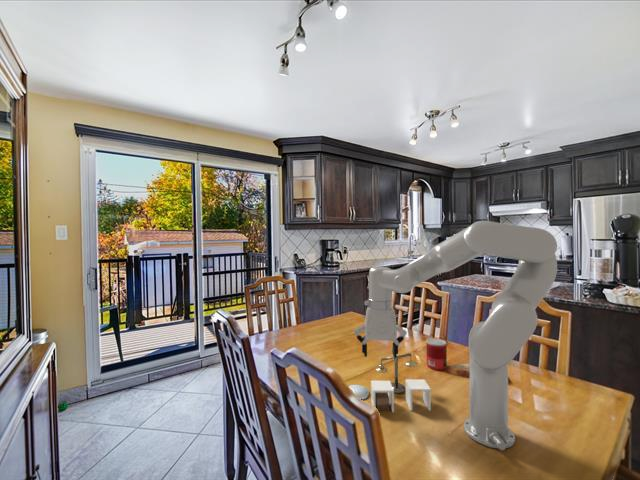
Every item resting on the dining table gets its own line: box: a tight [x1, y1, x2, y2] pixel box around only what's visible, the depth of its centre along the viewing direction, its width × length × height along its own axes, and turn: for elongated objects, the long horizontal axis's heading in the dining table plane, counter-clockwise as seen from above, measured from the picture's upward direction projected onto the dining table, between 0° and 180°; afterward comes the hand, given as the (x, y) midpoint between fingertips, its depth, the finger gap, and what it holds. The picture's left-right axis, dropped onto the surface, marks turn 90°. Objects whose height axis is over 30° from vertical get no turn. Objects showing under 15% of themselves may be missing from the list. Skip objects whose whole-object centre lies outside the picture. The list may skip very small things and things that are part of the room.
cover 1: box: [370, 380, 395, 413], centre depth 99 cm, size 6×6×7 cm
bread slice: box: [447, 363, 510, 383], centre depth 120 cm, size 18×18×4 cm
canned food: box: [426, 337, 448, 371], centre depth 128 cm, size 8×8×11 cm
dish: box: [348, 384, 370, 401], centre depth 108 cm, size 9×9×1 cm
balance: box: [374, 353, 418, 395], centre depth 110 cm, size 6×15×13 cm, turn 87°
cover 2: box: [404, 378, 432, 412], centre depth 100 cm, size 6×6×7 cm
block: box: [375, 392, 390, 411], centre depth 99 cm, size 4×4×4 cm
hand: (379, 355), depth 99 cm, fingers open, 9 cm apart
